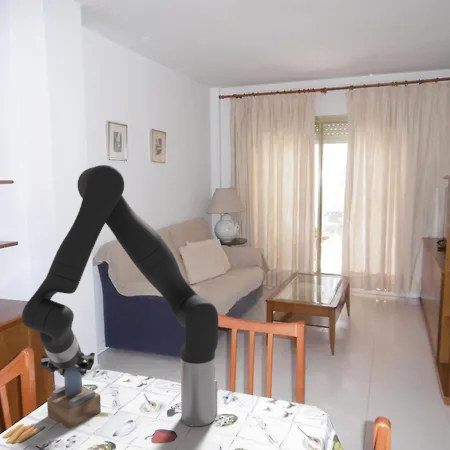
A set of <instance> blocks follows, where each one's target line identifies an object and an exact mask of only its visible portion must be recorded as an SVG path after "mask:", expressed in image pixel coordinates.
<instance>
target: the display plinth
mask: <svg viewBox="0 0 450 450" xmlns="http://www.w3.org/2000/svg"><path fill="white" fill-rule="evenodd" d="M51 393H52V396H49V397H47V400H46V402H47V403H46V404H47V416H48V417H49V418H51V419H53V420H54V421H56V422H58V423H59V424H61V425H63V426H65V427H66V428H68V429H70V428H73V427H74V426H76V425H78V424H80V423H81V422H84V421H86V420H88V419H90V418H92V417H94V416H95V415H97V414H99V413H101V412H102V411H101V408H102V407H101V393H100V394H99V393H97V392H96V391H95V390H92V389H89V388H87V387H84V386H83V385H82V392H81V393H80V394H78V395H75V396H67V395H66V394H65V385H64V386H62V387H59V388H57V389H55V390H52V392H51Z"/></svg>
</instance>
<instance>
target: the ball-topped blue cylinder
mask: <svg viewBox="0 0 450 450" xmlns="http://www.w3.org/2000/svg"><path fill="white" fill-rule="evenodd" d="M82 377H83V376H82V374H81V373H80V370H75V369H74V368H73V367H69V368H66V369H64V377H63V378H64V380H63V381H64V386H65V394H66V395H67V396H75V395H78V394H80V393H81V392H82V386H83V379H82Z"/></svg>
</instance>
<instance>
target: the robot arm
mask: <svg viewBox="0 0 450 450" xmlns="http://www.w3.org/2000/svg"><path fill="white" fill-rule="evenodd" d="M77 190H78V194H79V195H80V197H81V198H82V200H81V204H80V206H79V210H78V211H77V212H78V213H77V215H76V217H75V219H74V221H73V223H72V226H71V227H70V228H69V229H70V230H69V231H68V232H67V234H66V236H65V237H64V239H63V241H62V242H61V244H60V245H59V247H58V249H57V251H56V253H55V255H54V257H53V260H52V263H51V265H50V268H49V270H48V272H47V275H46V276H45V278H44V279H43V281H42V283H41V284H40V286H39V287H38V288H37V290H36V291H35V292H34V294H33V295H32V296H31V297H30V298H29V300H28V301H27V303H26V304H25V306H24V307H23V310H22V314H21V319H22V324H23V325H24V326H25V327H27V328H28V329H30V330H34V331H37V332H39V339H40V341H41V343H42V345H43V347H44V351H45V354H46V355H42V356H41V362H40V367H42V368H44V369H45V370H47V371H48V372H50V373H51V374H52V373H55V372H57V373H58V374H59V375H60V376H62V377H63V378H64V369H66V368H69V367H73V368H74V369H75V370H80V373H81V374H82V377H83V376H85V375H86V374H87V373H88V371H90V370H92V368H93V366H94V363H95V357H96V356H95V355H96V354H95V352H91V353H89V354H87V355H86V354H85V353H84V352H83V351H82V349H81V347H80V346H81V345H80V344H79V342H78V339H77V337H76V335H75V333H74V331H73V329H72V328H73V327H72V326H73V321H74V316H75V315H74V311H73V309H71V308H70V307H69V306H67V305H66V304H63V303H59V302H57V301H54V300H52V298H53V297H54V295H56V294H57V293H59V294H60V293H61V294H67V295H68V294H69V295H71V294H74V293H75V292H76V291H77V289H78V287H79V284H80V282H81V280H82V277H83V275H84V272H85V270H86V267H87V264H88V262H89V259H90V256H91V254H92V252H93V249H94V247H95V246H96V243H97V240H98V238H99V236H100V235H101V232H102V230H103V228H104V227H105V225H106V226H108V228H109V230H110V231H111V232H112V235H114V237H115V238H116V240H117V242H118V243H119V244H120V246H121V247H122V249H123V250H124V252H125V253H126V254H127V256H128V257H129V259H130V261H132V263H133V264H134V265H135V266H136V267H137V269H138V271H139V272H140V273H141V274H142V275H143V276H144V278H146V280H147V282H149V283H150V284H151V286H153V287H154V288H155V289H156V290H157V292H158V293H160V295H161V296H162V298H163V299H164V301H165V302H166V303H167V305H168V307H169V308H170V310H171V311H172V313H173V315H174V317H175V319H176V320H177V322H178V323H179V324H180V325H181V327H182V328H184V329H185V343H184V344H183V345H182V346H181V347H180V385H181V386H180V400H181V401H180V403H181V404H180V405H181V409H180V410H181V411H180V412H181V413H180V414H181V421H182V422H183V423H184V424H185V425H188V426H190V427H204V426H208V425H209V424H211V423H213V422H214V420H215V418H216V415H218V381H217V380H216V357H215V356H216V351H217V347H218V342H219V313H218V310H217V308H216V306H215V305H214V304H213V303H212V302H210V301H208V300H206V299H205V298H203V297H201V296H200V295H199V294H198V293H197V292H196V291H195V290H194V289H193V288H192V287H191V286H190V285H189V283H188V282H187V281H186V279H185V278H184V276H183V275H182V274H183V273H181V269H180V266H179V265H178V261H177V259H176V257H175V255H174V253H173V252H172V250H171V248H170V247H169V246H168V244H167V243H166V241H165V240H164V239H163V238H162V236H161V235H160V234H159V233H158V231H157V230H155V229H154V227H152V226H151V225H150V224H149V223H148V222H147V221H146V220H145V219H143V218H142V217H141V216H140V215H139V214H137V213H136V212H135V210H134V209H133V208H132V207H131V206H130V205H129V203H128V202H127V200H126V199H125V197H124V196H123V193H124V191H125V180H124V177H123V175H122V173H121V172H120V170H118V168H116V167H114V166H112V165H107V164H101V165H95V166H92V167H89V168H86V169H85V170H83V171H82V172H81V174H80V175H79V177H78V179H77Z"/></svg>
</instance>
